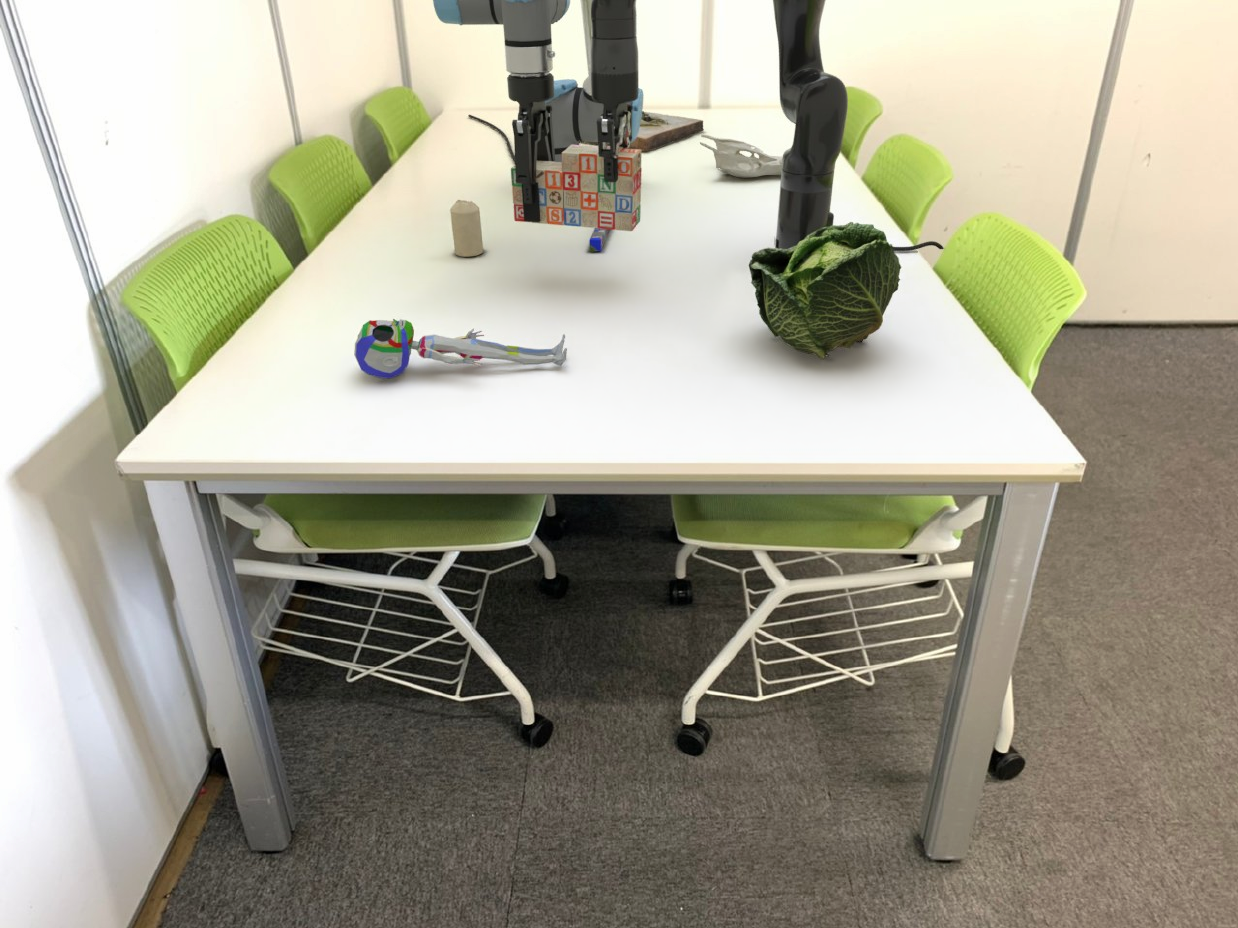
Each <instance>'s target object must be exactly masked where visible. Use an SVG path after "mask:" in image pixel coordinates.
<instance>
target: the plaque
mask: <svg viewBox="0 0 1238 928" xmlns="http://www.w3.org/2000/svg"><path fill="white" fill-rule="evenodd" d="M704 130H705V129H704V120H702V119H698V118H693V117H685V116H679V115H669V114H663V113H659V112H650V111H644V110H642V117H641V123H640V128H639V132H638V135H637V138H636V139H635V140H634V141H633V142H630V146H629V149H641V152H648V151H654V150H656V149H659V148H662V147H663V146H664V147H665V146H667V145H670V144H672V143H676V142H680V141H682V140H684V139H687V138H691V137H692V136H694V135H696V134H698V133H700V132H704ZM584 143H586V144H593V145H598V142H584ZM607 146H610V144H608V145H607Z"/></svg>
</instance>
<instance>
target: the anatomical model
mask: <svg viewBox="0 0 1238 928" xmlns="http://www.w3.org/2000/svg"><path fill="white" fill-rule="evenodd" d="M701 138H705V139H707V140H708V139H709V140H711V141H713V142H714V143H715V146H716V147H712V146H710V145H709V144H707V143H704V142H702V141H699V145H700V146H702V147H705V148H706V149H708V150H711V151H712V152H713V157H714V160H715V169H720V172H722V173H723V174H729V175H731V176H733V177H735V178H757V177H761V176H767V175H768V176H770V175H778V176H779V175H780V176H781V170H782V158H783V156H780V155H779V156H778V155H770V154H767V153H765V152H764V150H762V149H760V148H759V147H758V146H755V145H752V144H750V143H747V142H744V141H741V140H737V139H732V138H720V137H717V136H711V135H708V134H705V133H702V134H701ZM741 152H748V153H750V154H751V155H750V156H747V155H744V154H743V153H741ZM755 154H756V155H757V156H758V157H756V156H755Z"/></svg>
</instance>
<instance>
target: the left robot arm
mask: <svg viewBox="0 0 1238 928" xmlns="http://www.w3.org/2000/svg"><path fill="white" fill-rule="evenodd" d="M432 4H433V7H434V12H435V14H436V16H437V18H438V20H439V21H440V22H442V23H443V24H449V25H459V26H463V25H464V26H466V25H467V26H468V25H469V26H471V25H472V26H473V25H474V26H475V25H476V26H477V25H478V26H479V25H481V26H482V25H483V26H484V25H487V26H489V25H490V26H492V25H497V26H498V25H501V26H502V25H503V37H504V58H505V70H506V72H508V73H509V74H508V76H507V78H506V82H507V95H508V99H509V100H510V101H512V102H517V103H518V112H517V119H512V120H511V126H512V132H513V147H514V151H513V149H512V146H511V143H510V140H509V138H508V137H507V134H505V132H504V131H503V130H501V128H499V127H498V126H496V125H495V124H493V123H490V122H489V121H486V120H485V119H482V118H479V117H477V116H474V115H472V114H468V118H471V119H473V120H476V121H478V122H481V123H482V124H485V125H487V126H489V127H491V128H493V129H494V130H496V131H497V132H499V134H501V136H503V138H504V140H505V142H506V144H507V147H508V150H509V153H510V155H511V157H512V160H513V162H514V166H515V172H516V179H515V181H516V183H517V184H522V197H523V211H524V221H526V222H525V223H532V222H540V221H541V220H540V204H539V188H538V183H536V163H537V161H553V162H562V152H563V151H565V150H566V149H567V148H568V147H569V146H570V145H580V142H581V143H585V142H598V134H597V119H598V118H601V114H603V108H604V106H603V104H602V103H601V102H599V103H598V102H595V101H594V100H593V99H592V92H591V60H590V51H591V37H592V36H591V4H592V0H580V8H581V9H580V10H581V18H582V28H583V37H584V46H585V55H586V56H585V57H586V67H587V75H588V76H587V77H586V78H585V79H584V81H583V82H582V87H579V84H578V82H577V80H576V79H569V78H567V79H557V80H555V77H554V75H553V73H551V71H553V69H554V64H553V58H555V57H556V52H555V51H554V50H553V41H552V40H553V39H552V25H554V24H555V23H558V22H559V21H560V20H561V19H562V18H563V17H564V16H565V15H566V14H567V12H568V10H569V8H570V5H571V0H432ZM628 104H632V105H633V112H632V141H629V142H633V141H634V140H635V139H636V138H637V135H638V132H639V128H640V123H641V117H642V111H643V108H644V90H643V89H642V88H639V96H638V99H637V100H635V101H633V102H630V103H628Z"/></svg>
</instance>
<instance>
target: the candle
mask: <svg viewBox="0 0 1238 928" xmlns="http://www.w3.org/2000/svg"><path fill="white" fill-rule="evenodd" d="M449 212H450V213H449V214H450V222H451V228H452V231H451V232H452V239H453V247H454V253H455V255H457V256H459V257H465V258H466V257H467V258H468V257H475V256H479V255H481V254H483V252H484V242H483V234H482V233H483V232H482V231H483V230H482V222H481V221H482V220H481V212H480V207H479V205H478V204H476V203H475V202H474V201H472V200H470V201H468V200H465V199H464V200H462V199H457V200H456V201H455V202H454V203H453V205H452V206H451V207H450V209H449Z"/></svg>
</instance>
